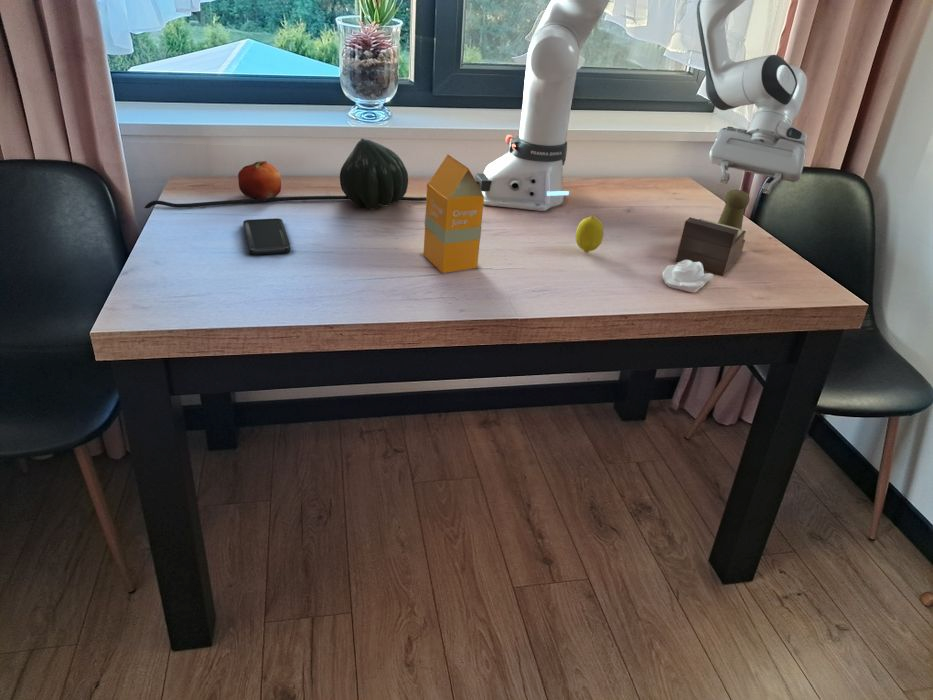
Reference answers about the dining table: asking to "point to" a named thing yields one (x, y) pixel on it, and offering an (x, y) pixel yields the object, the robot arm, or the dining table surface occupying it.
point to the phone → (266, 236)
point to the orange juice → (453, 218)
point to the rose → (686, 276)
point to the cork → (734, 208)
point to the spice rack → (710, 244)
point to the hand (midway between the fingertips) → (744, 187)
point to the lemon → (589, 234)
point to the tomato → (260, 180)
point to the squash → (373, 175)
